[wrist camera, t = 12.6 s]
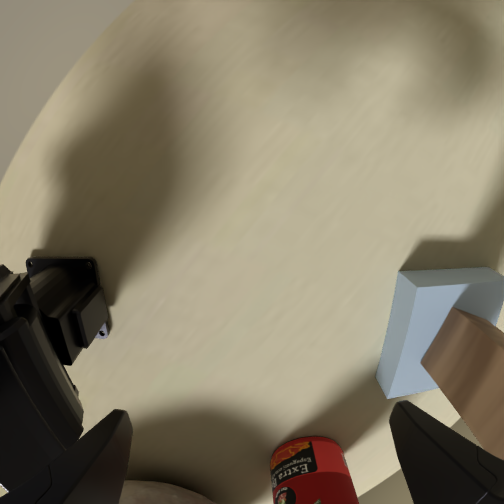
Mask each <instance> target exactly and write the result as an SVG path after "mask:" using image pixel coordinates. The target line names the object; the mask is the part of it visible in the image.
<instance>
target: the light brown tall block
mask: <svg viewBox="0 0 504 504" xmlns="http://www.w3.org/2000/svg"><path fill="white" fill-rule="evenodd" d="M420 364H421V365H422V366H423V367H424V369H425V370H426V371H427V372H428V374H429V375H430V376H431V378H432V379H433V380H434V382H435V383H436V384H437V385H438V387H439V388H440V389H441V391H442V392H443V393H444V395H445V396H446V397H447V399H448V400H449V401H450V403H451V404H452V405H453V407H454V408H455V409H456V411H457V412H458V413H459V415H460V416H461V418H462V419H463V420H464V421H465V423H466V424H467V426H468V427H469V428H470V430H471V431H472V433H473V434H474V436H475V437H476V438H477V440H478V441H479V443H480V444H481V446H482V447H483V448H484V450H486V451H487V452H489V453H491V454H492V455H494V456H496V457H498V458H500V459H502V460H504V333H503V332H502V331H501V330H499V329H498V328H497V327H496V326H494V325H493V324H492V323H491V322H489V321H488V320H486V319H484V318H481V317H478V316H476V315H473V314H470V313H468V312H465V311H463V310H460V309H457V308H455V307H452V308H451V310H450V311H449V313H448V315H447V317H446V319H445V321H444V323H443V325H442V326H441V328H440V330H439V332H438V334H437V335H436V337H435V339H434V341H433V342H432V344H431V346H430V347H429V349H428V351H427V352H426V354H425V356H424V357H423V359H422V361H421V362H420Z"/></svg>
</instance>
